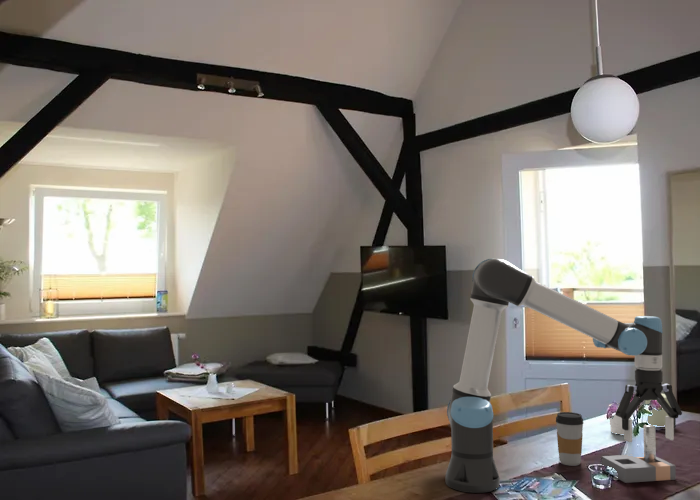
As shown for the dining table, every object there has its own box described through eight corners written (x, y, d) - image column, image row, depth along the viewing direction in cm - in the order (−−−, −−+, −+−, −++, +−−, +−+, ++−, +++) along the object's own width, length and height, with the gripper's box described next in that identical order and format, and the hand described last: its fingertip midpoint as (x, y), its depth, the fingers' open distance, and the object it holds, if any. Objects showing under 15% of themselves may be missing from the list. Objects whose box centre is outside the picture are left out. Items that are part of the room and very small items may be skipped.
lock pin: (648, 475, 190) (647, 427, 190) (641, 472, 193) (641, 425, 193) (658, 475, 190) (657, 427, 190) (651, 471, 193) (650, 424, 194)
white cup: (636, 436, 233) (635, 408, 233) (614, 436, 233) (613, 408, 233) (627, 430, 241) (626, 403, 241) (605, 430, 241) (605, 403, 241)
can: (649, 427, 245) (648, 396, 245) (642, 421, 254) (641, 391, 254) (675, 428, 243) (674, 396, 243) (667, 422, 252) (666, 391, 252)
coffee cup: (586, 467, 197) (585, 418, 198) (557, 466, 199) (557, 417, 199) (581, 459, 205) (581, 412, 206) (554, 458, 207) (554, 411, 207)
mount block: (625, 482, 184) (625, 468, 184) (601, 469, 195) (601, 456, 195) (675, 479, 186) (675, 465, 186) (649, 466, 198) (649, 453, 198)
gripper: (617, 371, 186) (618, 445, 186) (694, 369, 191) (695, 441, 190) (603, 367, 194) (603, 438, 193) (677, 365, 198) (678, 434, 198)
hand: (649, 440), depth 192 cm, fingers open, 13 cm apart
